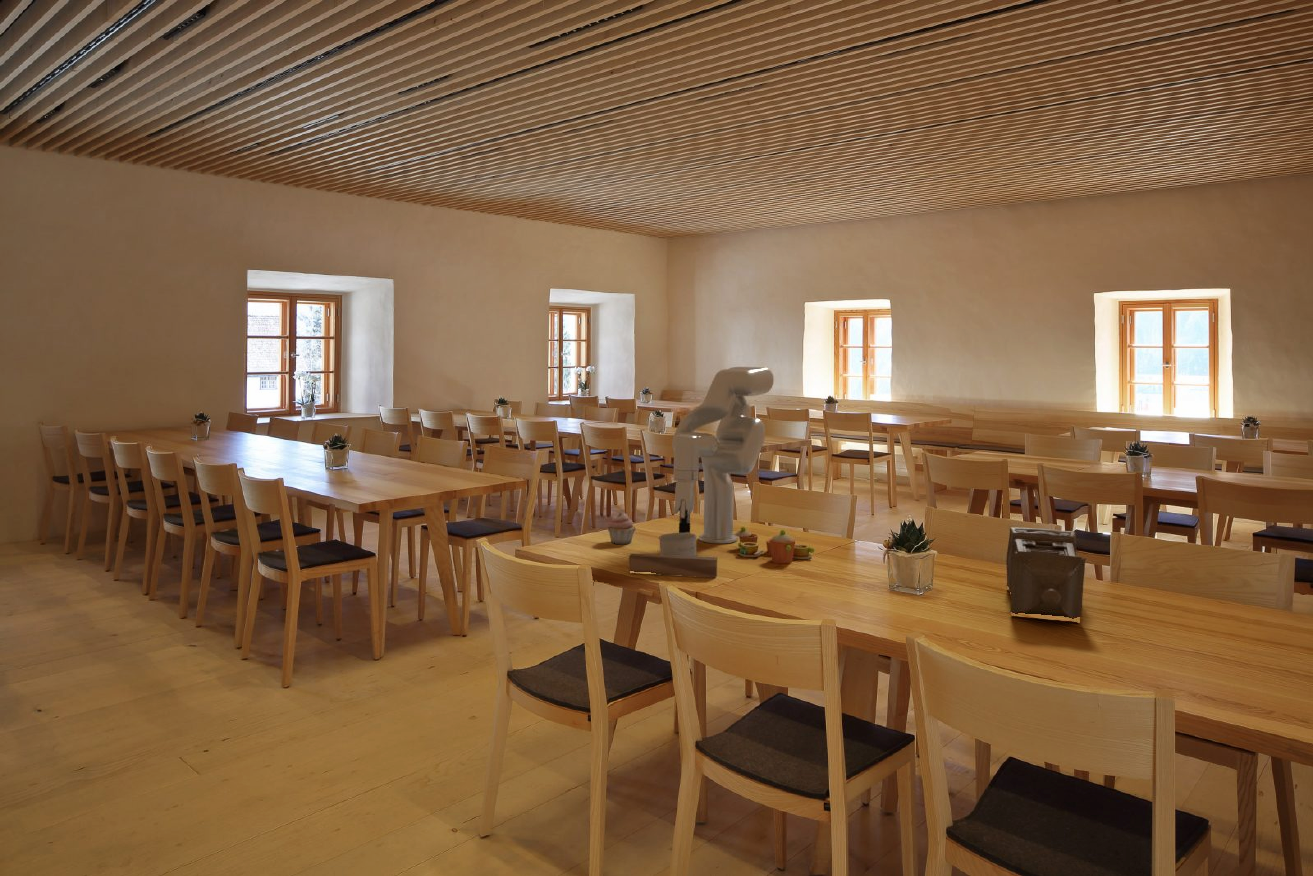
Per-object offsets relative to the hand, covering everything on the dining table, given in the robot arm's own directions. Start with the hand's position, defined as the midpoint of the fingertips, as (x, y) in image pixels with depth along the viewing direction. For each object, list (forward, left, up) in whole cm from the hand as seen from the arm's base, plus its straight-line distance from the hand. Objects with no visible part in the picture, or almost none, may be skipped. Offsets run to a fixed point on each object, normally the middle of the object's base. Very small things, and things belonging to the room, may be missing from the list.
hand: (684, 535), depth 275 cm
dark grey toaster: (+43, +93, -6) cm, 102 cm away
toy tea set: (-2, +25, -6) cm, 26 cm away
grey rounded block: (+10, 0, -6) cm, 12 cm away
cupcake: (-11, -22, -6) cm, 25 cm away
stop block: (+26, 0, -5) cm, 26 cm away
